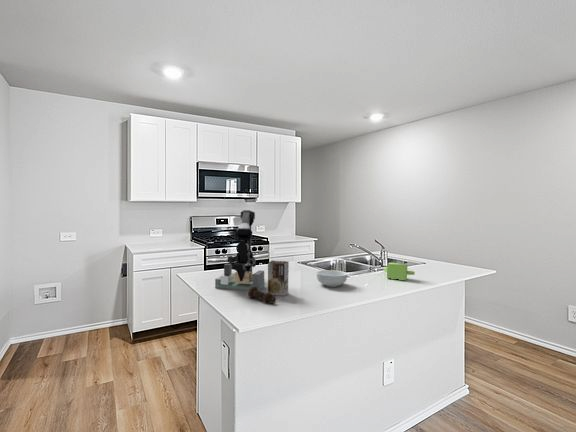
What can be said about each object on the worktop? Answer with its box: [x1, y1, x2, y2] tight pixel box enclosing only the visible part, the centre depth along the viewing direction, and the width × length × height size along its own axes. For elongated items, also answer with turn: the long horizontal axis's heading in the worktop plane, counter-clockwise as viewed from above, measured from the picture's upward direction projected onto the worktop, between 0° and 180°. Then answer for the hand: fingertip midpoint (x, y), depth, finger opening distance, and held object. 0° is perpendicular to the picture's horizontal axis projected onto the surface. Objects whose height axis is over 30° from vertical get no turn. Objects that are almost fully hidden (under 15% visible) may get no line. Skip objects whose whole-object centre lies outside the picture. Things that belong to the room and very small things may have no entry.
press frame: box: [214, 270, 265, 291], centre depth 174 cm, size 10×24×8 cm, turn 76°
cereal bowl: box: [316, 269, 348, 288], centre depth 182 cm, size 17×17×7 cm
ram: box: [220, 263, 235, 285], centre depth 176 cm, size 9×4×10 cm, turn 166°
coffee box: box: [267, 260, 289, 297], centre depth 163 cm, size 9×6×16 cm
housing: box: [233, 271, 253, 284], centre depth 174 cm, size 6×8×5 cm
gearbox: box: [383, 262, 416, 281], centre depth 199 cm, size 18×10×10 cm, turn 62°
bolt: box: [247, 287, 277, 304], centre depth 151 cm, size 6×5×15 cm
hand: (243, 279), depth 174 cm, fingers closed on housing, 6 cm apart
